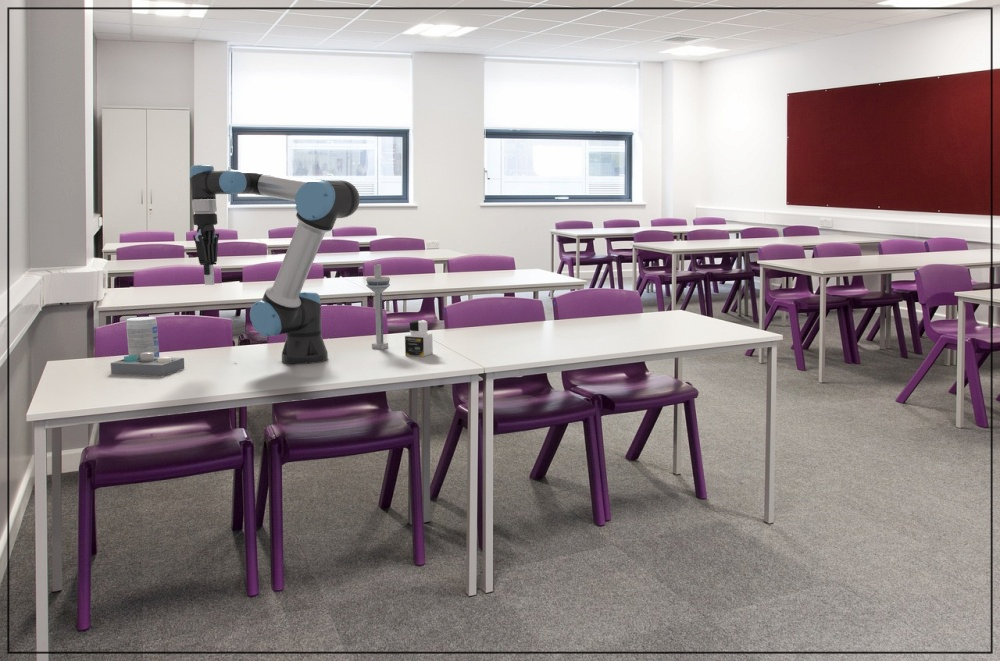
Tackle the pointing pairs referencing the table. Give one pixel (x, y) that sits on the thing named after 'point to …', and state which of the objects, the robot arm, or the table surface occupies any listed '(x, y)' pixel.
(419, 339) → the medicine bottle
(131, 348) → the supplement tub
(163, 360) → the ivory button
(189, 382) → the table surface
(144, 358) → the grey button
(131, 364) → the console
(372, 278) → the model tower
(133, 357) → the teal button
